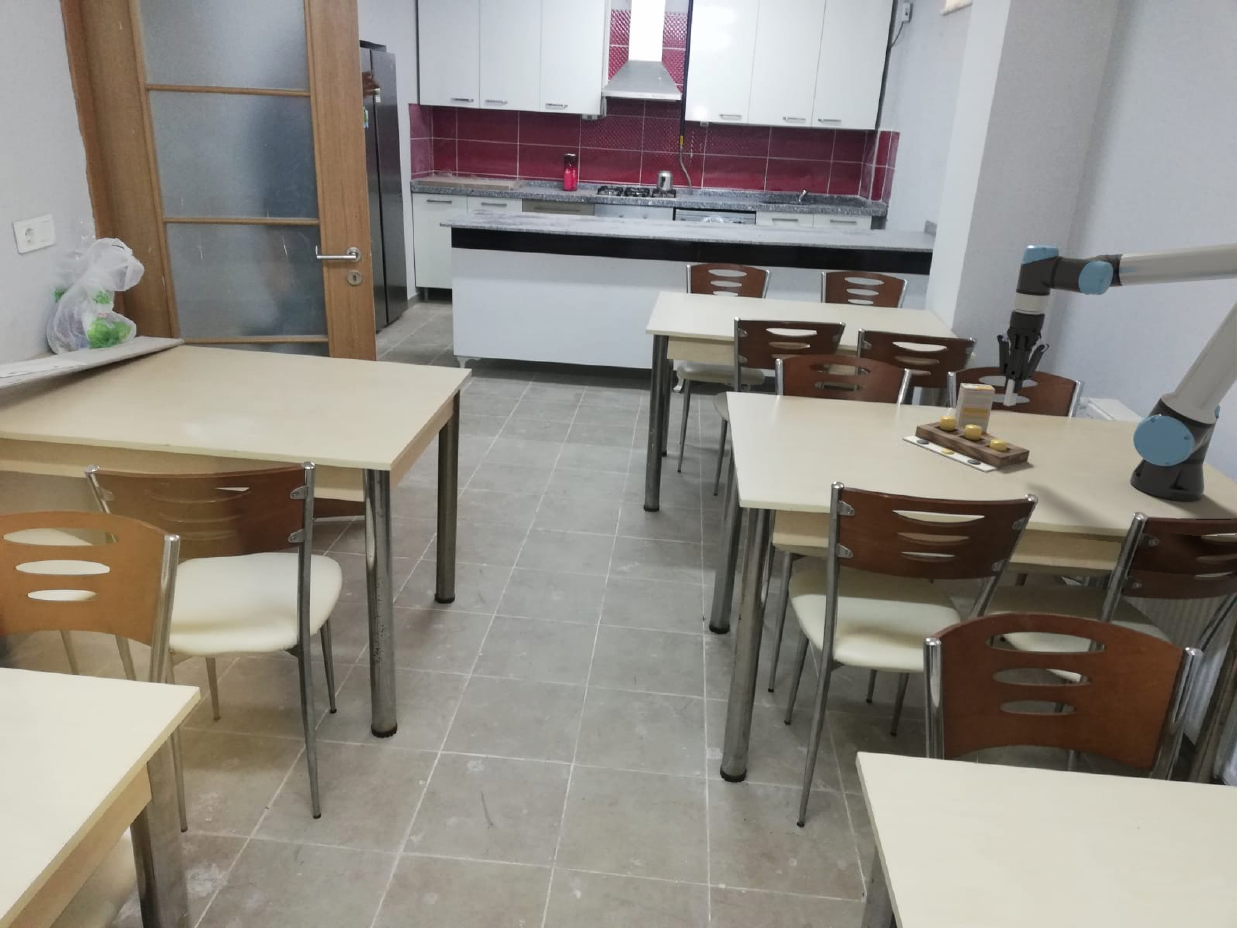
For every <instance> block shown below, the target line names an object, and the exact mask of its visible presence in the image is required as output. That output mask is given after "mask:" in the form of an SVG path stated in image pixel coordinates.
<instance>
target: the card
mask: <svg viewBox="0 0 1237 928" xmlns="http://www.w3.org/2000/svg"><path fill="white" fill-rule="evenodd" d="M901 440H903V441H906V442H908V443H910V444H914V445H916V446H919V447H921V448H924V449H926V450H929V451H931V452H934V453H936V454H938V455H941V456H944V457H946V458H949V459H951V460H954V461H956V462H958V463H961V464H963V465H966V466H968V467H972V468H974V469H976V470H979V471H981V472H984V473H987V472H990V471H995V470H997V468H996V467H993V466H991V465H988V464H986V463H983V462H980V461H978V460H975V459H973V458H970V457H967V456H965V455H962V454H960V453H957V452H955V451H952V450H949V449H947V448H944V447H942V446H939V445H936V444H934V443H931V442H929V441H926V440H924V439H921V438H918V437H916V436H915V435H909V436H905V437H902V439H901Z"/></svg>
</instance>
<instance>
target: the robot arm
mask: <svg viewBox="0 0 1237 928" xmlns="http://www.w3.org/2000/svg"><path fill="white" fill-rule="evenodd" d="M1232 279H1237V242H1235V243H1234V242H1233V243H1226V244H1225V243H1223V244H1213V245H1204V246H1192V247H1191V246H1190V247H1183V248H1181V247H1180V248H1172V249H1171V248H1169V249H1159V250H1150V251H1148V250H1147V251H1140V252H1130V253H1120V254H1119V253H1117V254H1102V255H1101V254H1099V255H1096V256H1094V257H1093V256H1092V257H1088V258H1074V257H1066V256H1065V257H1064V256H1061V255H1060V249H1059V248H1058V246H1052V245H1047V244H1044V245H1043V244H1030V245H1027V246H1026V247H1025V248H1024V251H1023V255H1022V259H1021V263H1020V267H1019V272H1018V279H1017V284H1016V289H1015V294H1014V298H1013V303H1012V309H1013V310H1012V311H1011V313H1010V317H1009V318H1010V319H1009V322H1008V324H1009V327H1008V328H1007V330H1006V332H1005V333H1003V334H998V335H996V340H997V343H998V359H999V360H998V361H999V362H998V364H999V375H1003V376H1004V377H1005V380H1004V381H1005V382H1004V386H1003V391H1005V395H1004V400H1003V406H1006V407H1011V406H1016V403H1017V398H1018V394H1020V393H1021V392H1022V388H1023V384H1024V381H1029V380H1032V379H1033V376H1034V375H1035V372H1036V370H1037V368H1038V366H1039V364H1040V362H1041V359H1042V357H1043V355H1044V353H1046V351H1047V350H1048V349H1049V348H1050V344H1049V343H1045V342H1044V341H1043V339H1042V333H1041V332H1042V329H1043V327H1044V323H1045V318H1046V314H1045V312H1046V311H1047V307H1048V303H1049V299H1050V296H1051V295H1050V294H1051V290H1059V291H1066V292H1072V293H1077V294H1079V293H1080V294H1084V295H1087V296H1089V295H1096V296H1102V295H1104V294H1106V293H1107V291H1108V290H1109V288H1115V287H1117V288H1118V287H1126V286H1128V287H1129V286H1142V285H1156V284H1171V283H1172V284H1173V283H1186V282H1187V283H1189V282H1201V281H1217V280H1219V281H1220V280H1232ZM1033 348H1034V350H1033ZM1032 351H1033V353H1032ZM1236 381H1237V300H1236V301H1235V302H1234V304H1233V305H1232V307H1231V308H1230V309H1229V311H1228V313H1227V314H1226V316H1224V318H1223V320H1222V321H1221V323H1220V324H1219V326H1218V327H1217V328H1216V330H1215V331H1214V333H1213V334H1212V335H1211V337H1210V339H1209V340H1208V341H1207V343H1206V344H1205V346H1204V347H1203V349H1202V350H1201V352H1200V353H1199V355H1197V357H1196V359H1195V361H1194V362H1193V363H1192V365H1191V366H1190V367H1189V368H1188V370H1187V372H1186V374H1185V375H1184V377H1182V379H1181V381H1180V382H1179V384H1178V385H1177V386H1176V388H1175V389H1174V391H1171V392H1168V393H1163V394H1162V395H1161V396H1160V398H1159V399H1158V401H1157V402H1156V404H1155V405H1154V406H1153V408H1152V409H1151V411H1150V412H1149V414H1148V415H1147V417H1146V418H1144V419H1142V420H1141V421H1140V422H1139V423H1138V424H1137V426H1136V429H1135V430H1134V433H1133V437H1132V438H1133V440H1132V442H1133V445H1134V448H1135V450H1136V452H1137V453H1138V455H1139V456H1140V457H1141V458H1142V459H1141V460H1140V462H1139V463H1138V465H1136V467H1135V469H1134V470H1133V471H1132V473H1131V477H1130V480H1129V483H1130V485H1131V486H1132V487H1133V488H1135V489H1137V490H1139V491H1140V492H1143V493H1147V494H1148V495H1151V496H1155V497H1158V498H1162V499H1167V500H1172V501H1178V502H1179V501H1180V502H1193V501H1194V502H1195V501H1198V500H1200V499H1202V497H1203V495H1204V491H1205V480H1204V479H1205V477H1204V468H1203V467H1204V462H1205V459H1206V456H1207V453H1208V450H1209V447H1210V443H1211V441H1212V436H1213V433H1214V431H1215V428H1216V425H1217V421H1218V420H1219V418H1220V411H1221V406H1220V403H1221V401H1222V400H1223V399H1224V398H1225V396H1227V394H1228V392H1229V390H1230V389H1231V388H1232V386H1233V385H1234V384H1235V382H1236Z"/></svg>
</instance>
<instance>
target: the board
mask: <svg viewBox="0 0 1237 928" xmlns="http://www.w3.org/2000/svg"><path fill="white" fill-rule="evenodd" d="M939 424H940V421H937V422H932V423H925V424H920V425H917V426H916V429H915V435H914V436H916V437H918V438H921V439H924V440H926V441H929V442H931V443H934V444H936V445H939V446H942V447H944V448H947V449H949V450H952V451H955V452H957V453H960V454H962V455H965V456H967V457H970V458H973V459H975V460H978V461H980V462H983V463H986V464H988V465H991V466H993V467H996V469H997V470H999V469H1003V468H1008V467H1011V466H1015V465H1018V464H1022V463H1027V462H1028V460H1029V457H1030V450H1029V449H1026V448H1024V447H1020V446H1019V445H1015V444H1013V443H1010V442H1007V443H1008V445H1007V450H1006V451H1004V452H999V451H996V450H993V449H991V448H990V444H991V440H994V439H997V440H1000V439H999V438H996V437H993V436H990V435H987V434H982V433H981V436H980V439H979V440H972V439H968V438H965V437H964V433H965V427H963V426H960V425H957V424H955V429H954V430H951V431H950V430H943V429H941V428H939Z"/></svg>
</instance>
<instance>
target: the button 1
mask: <svg viewBox="0 0 1237 928" xmlns="http://www.w3.org/2000/svg"><path fill="white" fill-rule="evenodd" d="M954 417H955V416H950V415H949V416H948V415H942V416H940V421H939V422H940V424H939V428H941V429H943V430H950V431H951V430H954V429H955V424H956V420H957V419H956V418H954Z"/></svg>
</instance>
